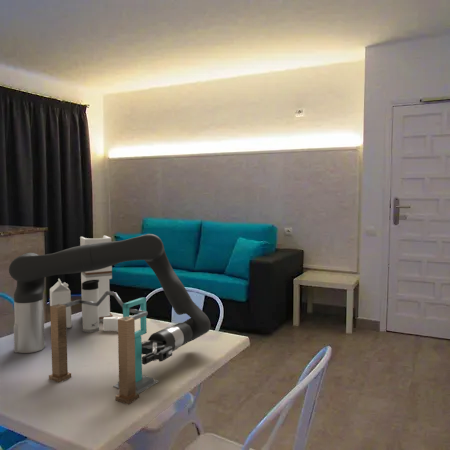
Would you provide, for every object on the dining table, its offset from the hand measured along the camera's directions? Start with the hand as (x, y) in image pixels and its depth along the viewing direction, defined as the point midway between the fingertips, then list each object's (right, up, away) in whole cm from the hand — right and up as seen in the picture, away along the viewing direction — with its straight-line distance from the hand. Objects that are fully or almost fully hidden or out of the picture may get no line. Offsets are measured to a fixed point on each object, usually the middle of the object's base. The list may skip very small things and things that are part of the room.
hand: (131, 358), depth 125 cm
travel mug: (-26, -4, +51) cm, 58 cm away
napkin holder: (-16, -5, +52) cm, 55 cm away
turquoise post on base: (+1, -8, +2) cm, 8 cm away
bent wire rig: (-9, -8, +3) cm, 13 cm away
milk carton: (-40, -4, +56) cm, 69 cm away
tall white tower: (-29, -3, +67) cm, 73 cm away
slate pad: (+1, -8, +2) cm, 9 cm away
